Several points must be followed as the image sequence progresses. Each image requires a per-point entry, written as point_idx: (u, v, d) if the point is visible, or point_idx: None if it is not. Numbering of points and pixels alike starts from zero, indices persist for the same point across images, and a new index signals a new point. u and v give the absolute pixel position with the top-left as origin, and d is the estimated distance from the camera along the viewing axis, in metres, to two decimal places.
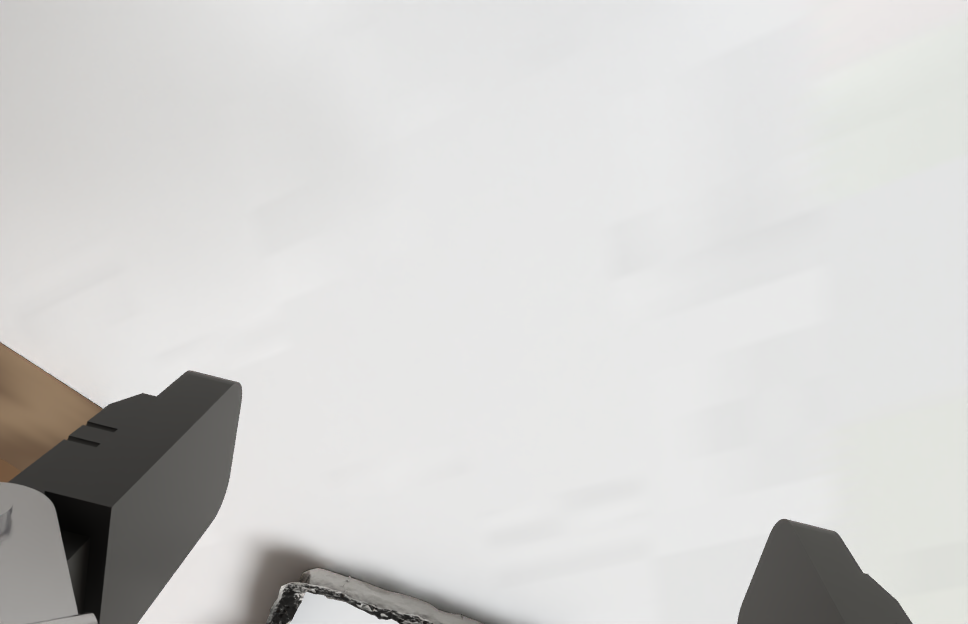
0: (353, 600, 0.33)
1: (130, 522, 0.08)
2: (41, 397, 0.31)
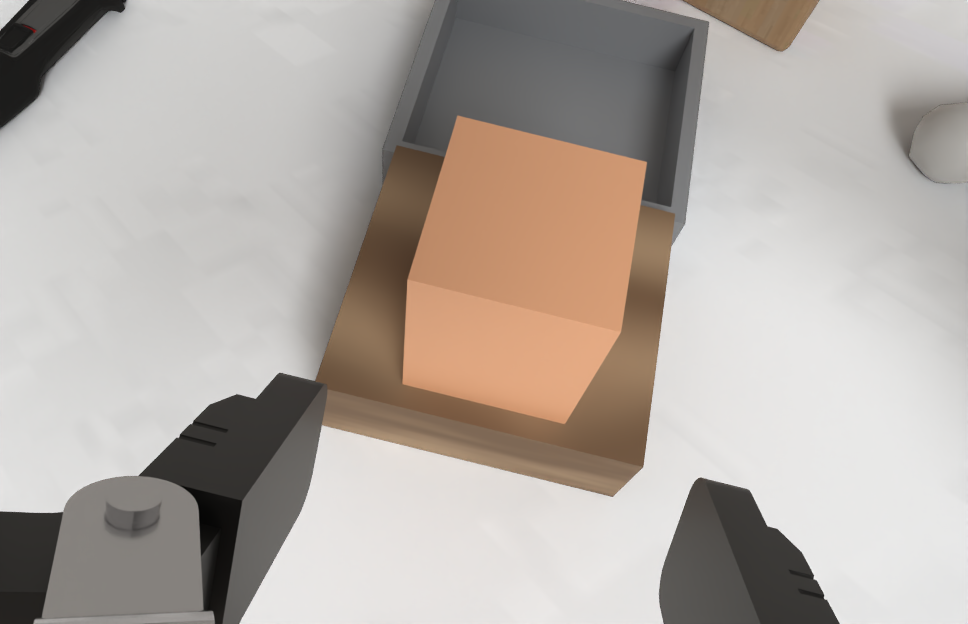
0: None
1: (251, 514, 0.09)
2: None
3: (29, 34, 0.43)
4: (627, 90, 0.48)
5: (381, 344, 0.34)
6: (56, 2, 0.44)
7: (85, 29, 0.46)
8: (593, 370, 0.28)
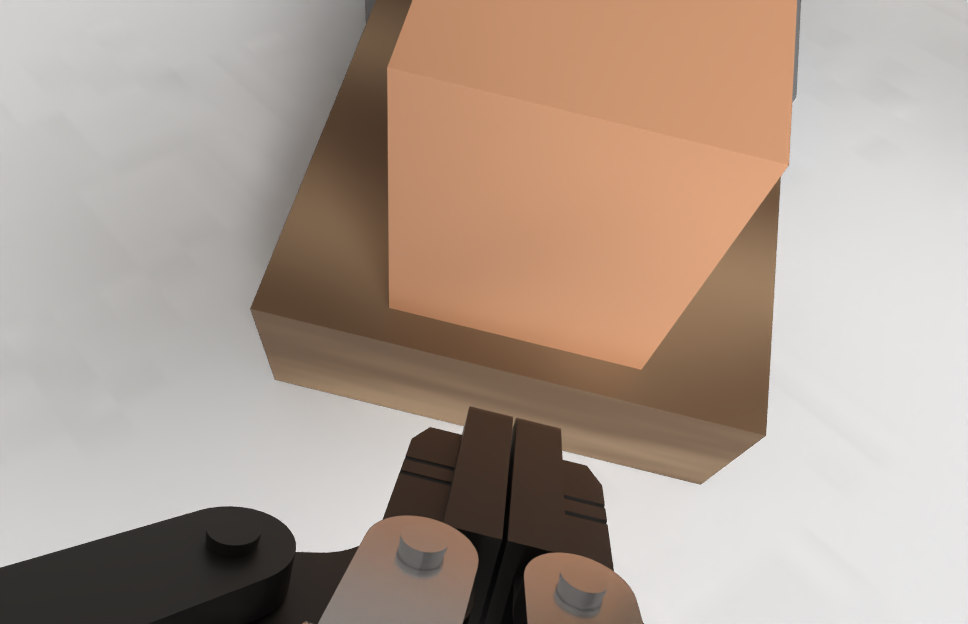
0: None
1: None
2: None
3: None
4: None
5: (358, 249, 0.22)
6: None
7: None
8: (712, 260, 0.16)
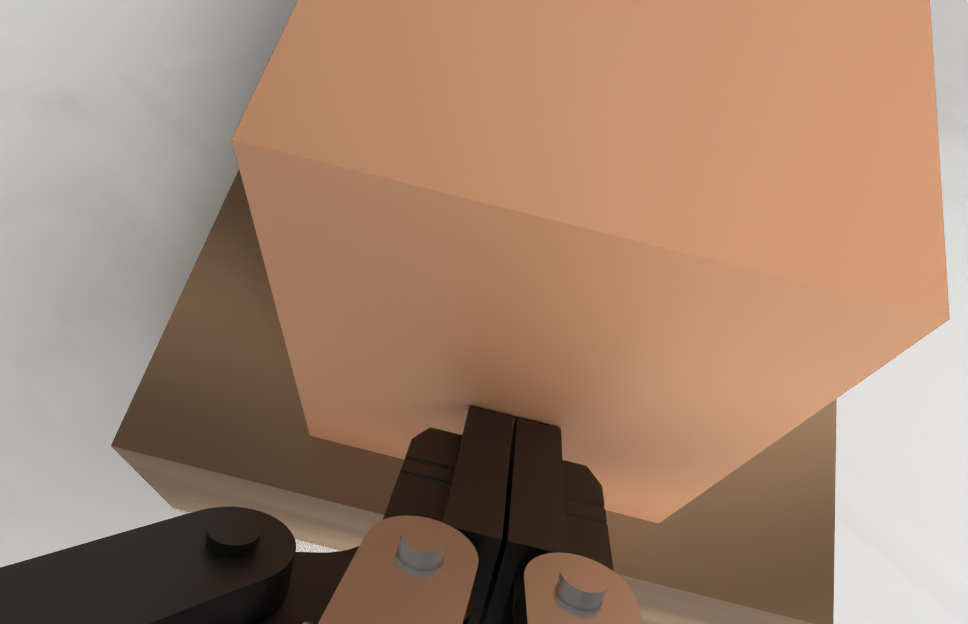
0: None
1: None
2: None
3: None
4: None
5: (269, 355, 0.16)
6: None
7: None
8: (783, 426, 0.10)
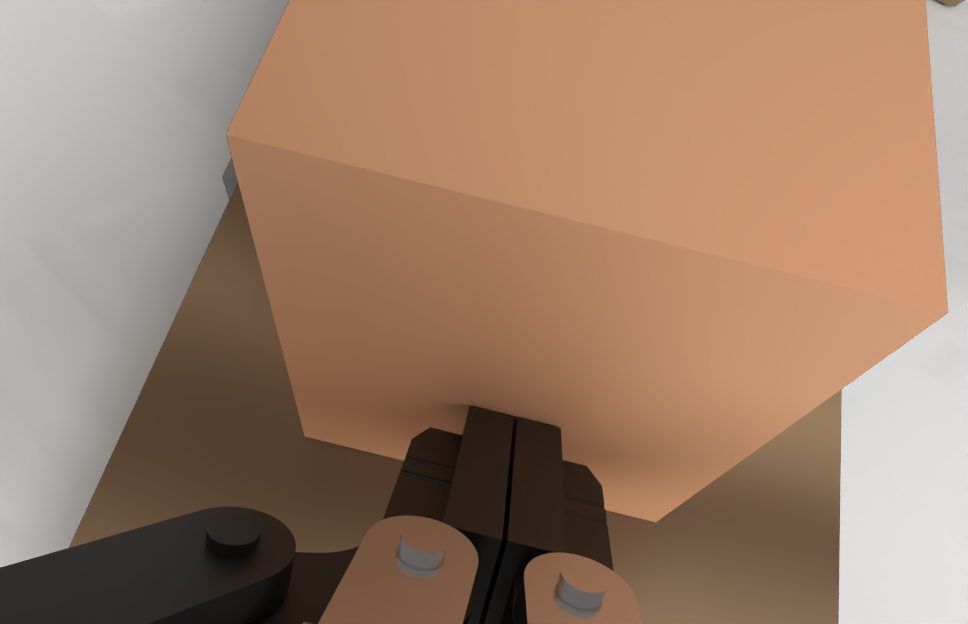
0: None
1: None
2: None
3: None
4: None
5: None
6: None
7: None
8: (781, 423, 0.10)
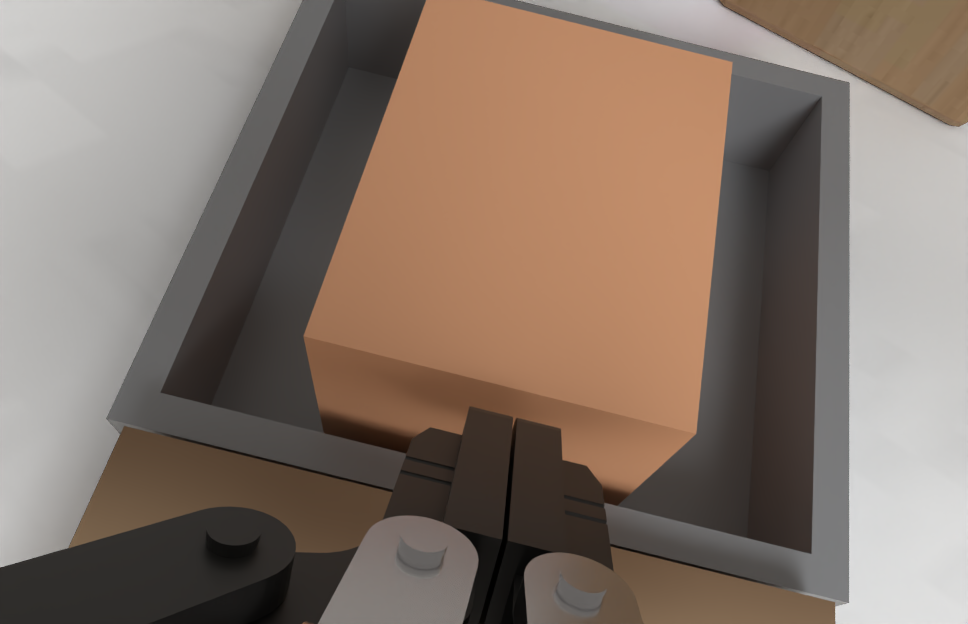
0: None
1: None
2: None
3: None
4: None
5: None
6: None
7: None
8: (715, 172, 0.16)
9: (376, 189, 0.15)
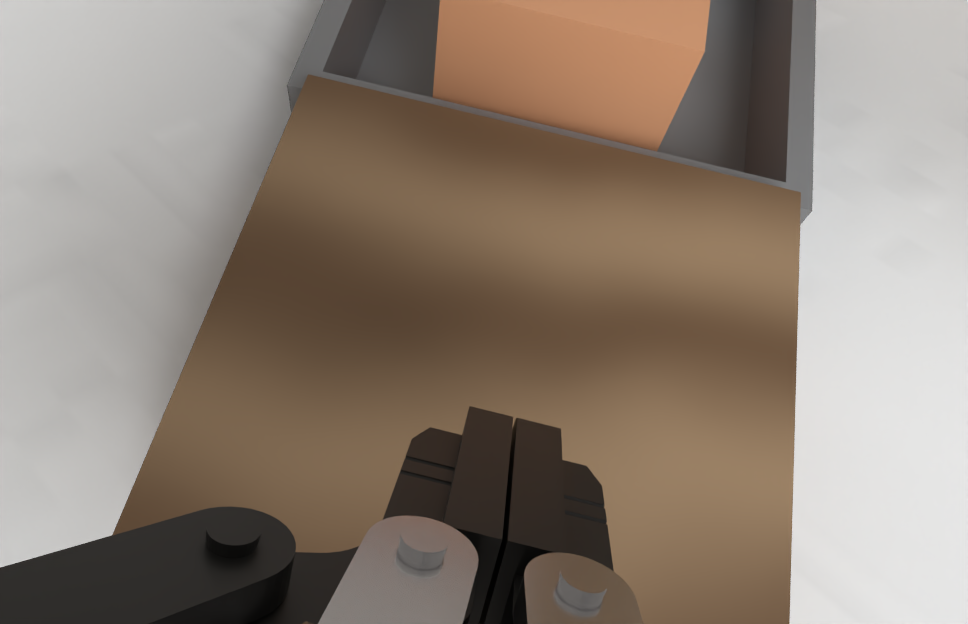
0: None
1: None
2: None
3: None
4: None
5: (257, 450, 0.17)
6: None
7: None
8: None
9: None
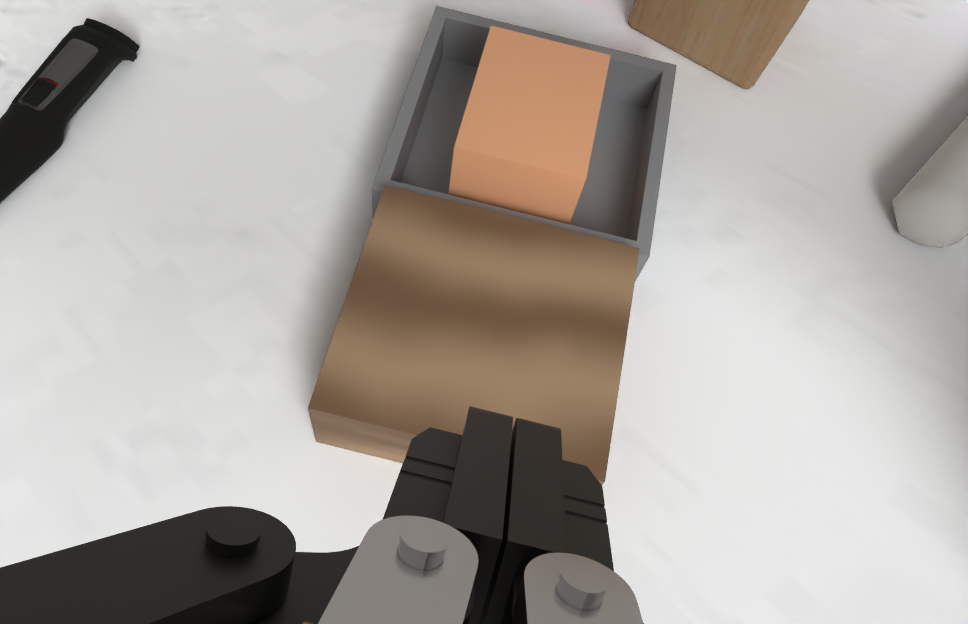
0: None
1: None
2: None
3: (52, 88, 0.46)
4: (601, 127, 0.52)
5: (369, 370, 0.38)
6: (75, 56, 0.48)
7: (102, 79, 0.49)
8: (600, 96, 0.44)
9: (475, 100, 0.43)
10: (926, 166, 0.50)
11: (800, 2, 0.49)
